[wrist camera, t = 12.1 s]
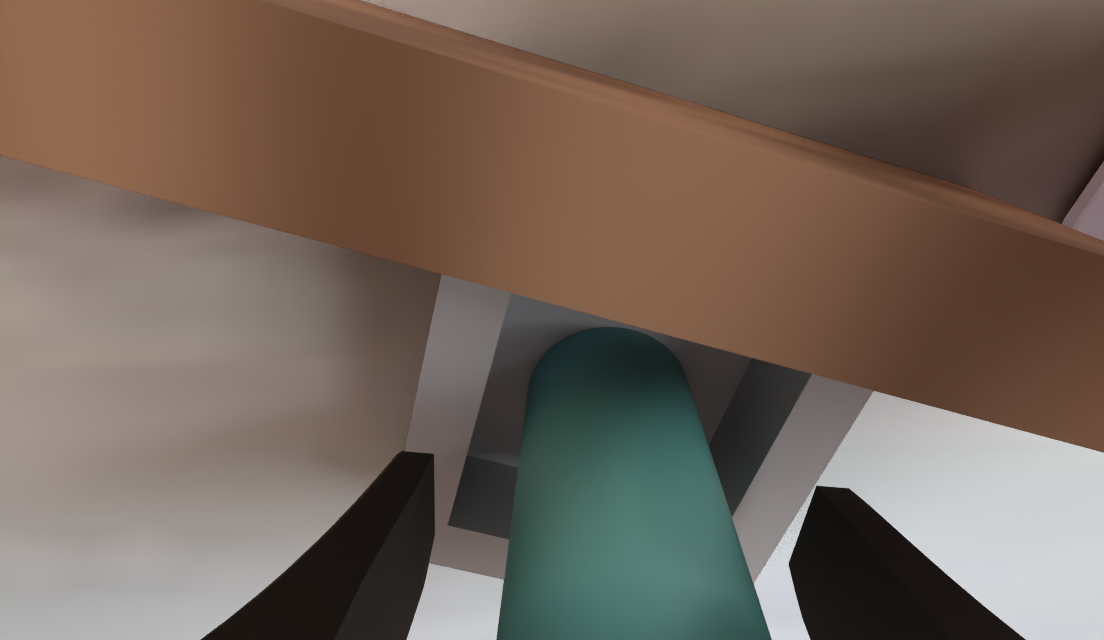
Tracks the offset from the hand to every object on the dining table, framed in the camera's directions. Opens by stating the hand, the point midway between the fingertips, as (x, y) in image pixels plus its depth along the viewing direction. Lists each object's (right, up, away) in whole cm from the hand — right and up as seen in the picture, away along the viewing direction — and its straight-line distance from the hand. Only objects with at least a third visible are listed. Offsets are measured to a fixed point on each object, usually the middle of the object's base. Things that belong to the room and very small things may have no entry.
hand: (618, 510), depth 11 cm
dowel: (0, +2, +4) cm, 4 cm away
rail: (-3, +8, +1) cm, 9 cm away
